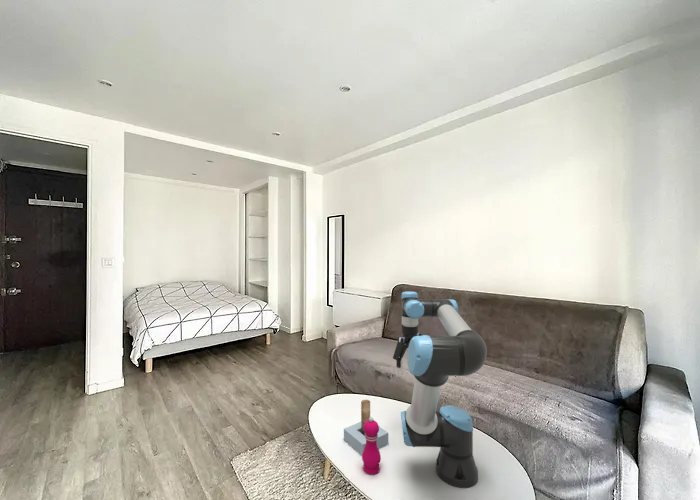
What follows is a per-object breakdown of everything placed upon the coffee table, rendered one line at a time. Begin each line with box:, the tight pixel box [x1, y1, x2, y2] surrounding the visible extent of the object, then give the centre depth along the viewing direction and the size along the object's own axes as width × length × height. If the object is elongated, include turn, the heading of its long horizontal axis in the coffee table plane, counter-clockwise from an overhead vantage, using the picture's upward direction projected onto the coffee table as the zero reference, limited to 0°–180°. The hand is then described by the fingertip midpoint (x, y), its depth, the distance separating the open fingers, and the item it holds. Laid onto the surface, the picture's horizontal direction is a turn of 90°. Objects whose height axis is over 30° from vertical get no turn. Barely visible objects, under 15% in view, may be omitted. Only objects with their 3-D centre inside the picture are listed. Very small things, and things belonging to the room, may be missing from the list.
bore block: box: [343, 421, 389, 456], centre depth 135 cm, size 14×14×5 cm
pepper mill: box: [361, 416, 382, 476], centre depth 118 cm, size 7×7×20 cm
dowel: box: [360, 399, 371, 436], centre depth 135 cm, size 4×4×17 cm
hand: (410, 370), depth 142 cm, fingers open, 13 cm apart
